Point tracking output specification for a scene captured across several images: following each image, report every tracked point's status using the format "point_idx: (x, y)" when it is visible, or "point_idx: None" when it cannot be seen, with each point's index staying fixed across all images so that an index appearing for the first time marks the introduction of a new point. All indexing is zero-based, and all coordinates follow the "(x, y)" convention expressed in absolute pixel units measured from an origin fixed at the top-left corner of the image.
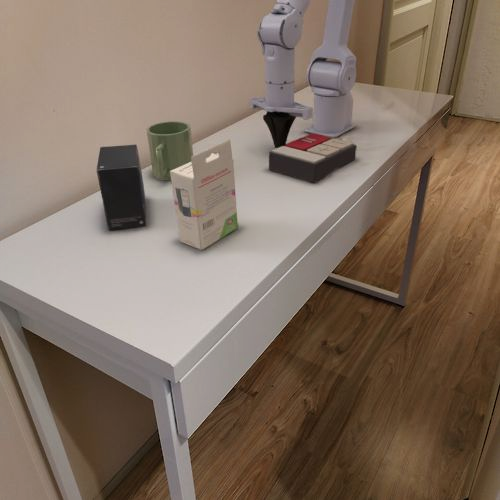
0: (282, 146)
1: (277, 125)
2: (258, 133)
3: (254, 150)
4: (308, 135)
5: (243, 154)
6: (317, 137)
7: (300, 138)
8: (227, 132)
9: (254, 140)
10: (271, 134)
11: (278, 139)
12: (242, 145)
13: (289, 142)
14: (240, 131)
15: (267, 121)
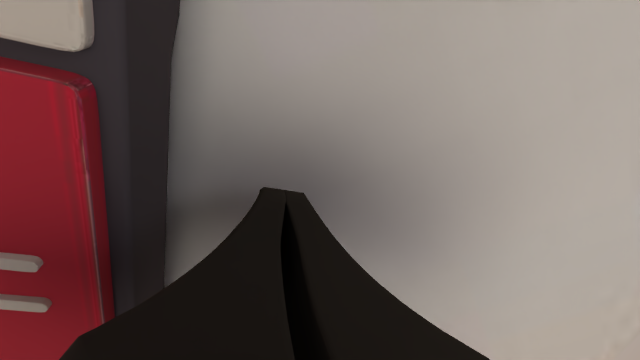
0: (68, 24)
1: (224, 305)
2: (479, 351)
3: (442, 181)
4: None
5: (493, 99)
6: (1, 352)
7: (89, 290)
8: (622, 315)
9: (478, 288)
10: (334, 243)
11: (256, 215)
12: (526, 217)
13: (85, 165)
14: (563, 341)
15: (407, 339)
